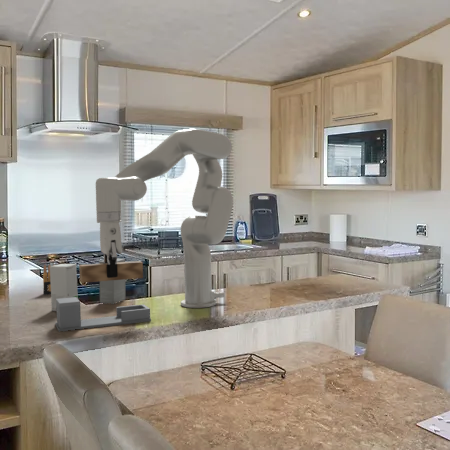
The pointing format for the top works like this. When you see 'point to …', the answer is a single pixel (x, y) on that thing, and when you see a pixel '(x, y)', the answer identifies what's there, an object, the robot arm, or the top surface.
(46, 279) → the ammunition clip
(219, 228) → the robot arm
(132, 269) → the slat
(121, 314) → the endcap board
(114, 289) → the skincare box
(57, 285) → the skincare box
